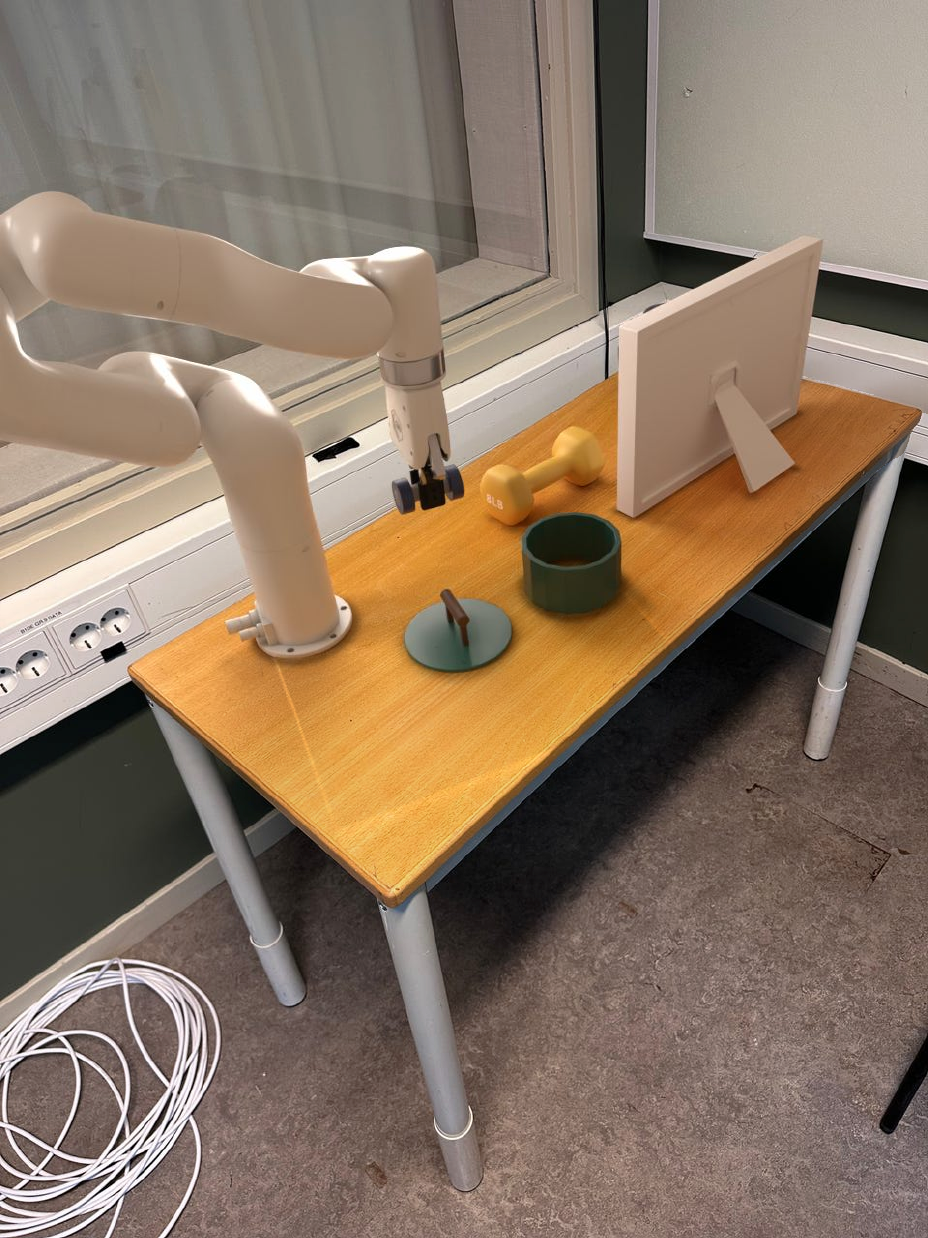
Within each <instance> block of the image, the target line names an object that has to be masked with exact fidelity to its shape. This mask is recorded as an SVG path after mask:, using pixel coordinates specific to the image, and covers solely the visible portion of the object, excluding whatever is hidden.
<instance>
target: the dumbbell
mask: <svg viewBox="0 0 928 1238" xmlns="http://www.w3.org/2000/svg"><path fill="white" fill-rule="evenodd" d="M551 455H552V457H550V458H547V459H545V460H543V461H541V462H539V463H537V464H536V465H533V466H532V467H529V468H528V469H527V470H525V471H524V472H523V473H522V472H521V471H520V470H518V469H516V468H515V467H512V466H510V465H507V464H504V463H500V464H499V463H498V464H496V465H494V466H492V467H490V468H489V469H487V470H486V471H485V472H484V474H483V477H482V479H481V481H480V484H479V492H480V496H481V498H482V501H483V503H484V505H485V508H486V510H487V512H488V513H489V515H490V516H491V517H492V518H494V519H495V520H497V521H499V522H500V523H502V524H503V525H506V526H508V527H510V526H511V527H512V526H513V527H515V526H517V525H518V524H519V523H522V522H523V521H524V520H526V519H527V517H528V516H529V514H530V513H531V511H532V509H533V507H534V503H535V497H534V495H533V494H536V493H538V492H540V491H542V490H544V489H546V488H548V487H550V486H552V485H553V484H555V483H557V482H558V481H560V480H561V479H565V481H568V482H570V483H571V484H574V485H577V486H579V487H584V486H587V485H589V484H591V483H593V482H594V481H596V479H598V477H599V476H600V474H601V473H602V471H603V470H604V468H605V465H606V459H605V455H604V451H603V450H602V447H601V444H600V442H599V440H598V438H597V436H596V435H595V434H594V433H593V432H591V431H589V430H587V429H585V428H583V427H580V426H577V425H576V426H575V425H572V426H569V427H567V428H565V429H564V430H563V431H561V432H560V433H559V434H558V436H557V437H556V439H555V441H554V442H553V445H552V447H551Z"/></svg>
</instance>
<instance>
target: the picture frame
mask: <svg viewBox="0 0 928 1238" xmlns="http://www.w3.org/2000/svg"><path fill="white" fill-rule="evenodd" d="M823 244H824V239H823V238H819V237H813V236H808V235H802V236H799V237H798V238H796V239H793V240H792V241H789V242H787V243H786V244H783V245H781V246H779V247H777V248H775V249H773V250H771V251H769V252H766V253H765V254H763V255H761V256H759V257H756V258H754V259H752V260H751V261H748V262H746V263H745V264H742V265H740V266H738V267H737V268H734V269H732V270H730V271H728V272H726V273H724V274H722V275H719V276H718V277H716V278H714V279H712V280H710V281H707V282H704V283H703V284H701V285H700V286H698V287H695V288H693V289H692V290H689V291H687V292H685V293H683V294H681V295H679V296H677V297H675V298H672V299H671V300H669V301H666V302H667V303H666V302H664V303H665V304H663V305H660V306H658V307H656V308H654V309H652V310H650V311H648V312H646V313H644V314H643V313H642V314H640V315H638V316H636V317H634V318H632V319H630V320H628V321H625V322H624V323H622V324H620V325H619V327H618V345H619V365H618V364H617V368H618V370H617V371H618V377H617V378H618V379H617V382H618V383H617V457H616V458H617V460H616V461H617V463H616V464H617V465H616V467H617V470H616V510H617V511H619V512H621V513H623V514H625V515H627V516H629V517H631V518H632V519H635V518H636V517H638V516H639V515H641V514H642V513H644V512H646V511H647V510H649V509H650V508H652V507H653V506H655V505H657V504H658V503H660V502H661V501H663V500H664V499H666V498H667V497H669V496H671V495H672V494H674V493H675V492H677V491H679V490H680V489H681V488H683V487H685V486H686V485H688V484H690V483H692V481H694V480H695V479H697V478H698V477H700V476H702V475H703V474H705V473H706V472H708V471H710V470H711V469H713V468H715V466H717V465H719V464H721V463H722V462H724V461H725V460H727V459H728V458H730V457H732V456H733V455H734V454H735V457H736V460H737V463H738V464H739V468H740V471H741V473H742V476H743V479H744V481H745V484H746V486H747V490H748V492H749V494H752V493H754V492H756V491H758V490H759V489H761V488H763V486H765V485H766V484H768V483H769V482H770V481H772V480H774V479H775V478H776V477H777V476H779V475H781V474H782V473H783V472H785V471H786V470H788V469H789V468H791V467H792V466H794V465H795V464H796V462H795V461H794V460H793V459H792V458H791V456H790V454H789V453H788V452H787V451H786V449H785V448H784V447H783V446H782V444H781V443H780V442H779V440H778V439H777V438H776V436H775V435H774V434H773V432H772V431H773V429H775V428H777V427H779V425H781V424H783V423H784V422H786V421H787V420H789V419H791V418H792V417H794V416H795V415H797V413H798V408H799V401H800V395H801V389H802V388H801V387H802V382H803V375H804V369H805V363H806V355H807V349H808V343H809V336H810V330H811V329H810V328H811V322H812V316H813V315H812V314H813V311H814V303H815V296H816V292H817V291H816V289H817V283H818V278H819V277H818V276H819V270H820V264H821V257H822V250H823Z"/></svg>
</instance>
